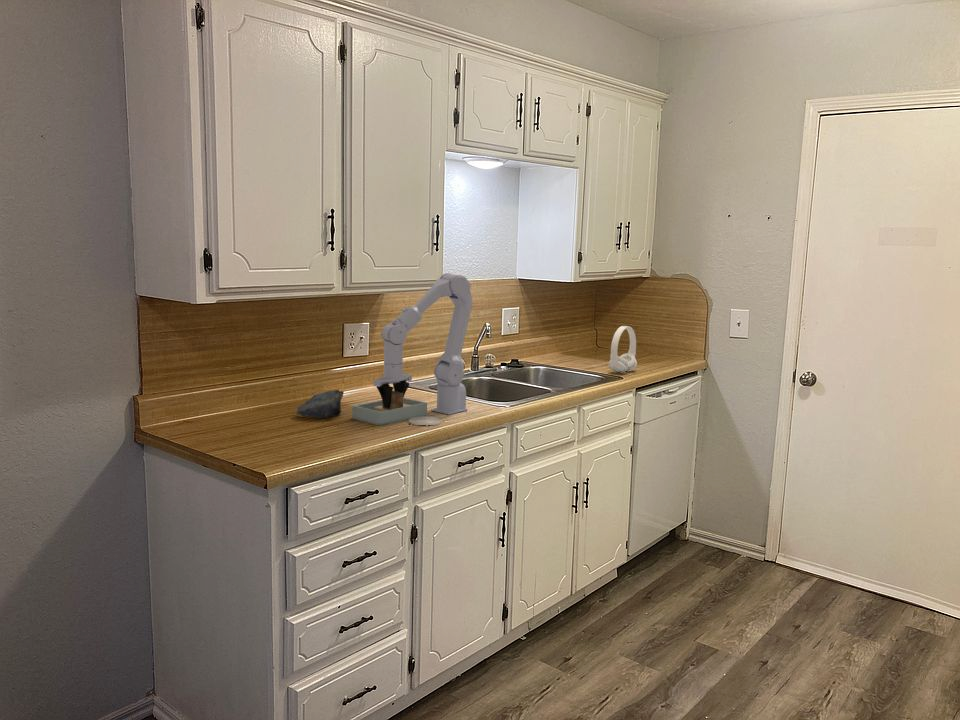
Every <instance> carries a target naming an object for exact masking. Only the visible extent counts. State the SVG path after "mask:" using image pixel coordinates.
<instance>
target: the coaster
mask: <svg viewBox="0 0 960 720" xmlns="http://www.w3.org/2000/svg"><path fill="white" fill-rule="evenodd" d="M441 422H443V421H442V419H441V418H439V417H436V416H428V415H425V416H418V417H412V418H410V419H408V423H409V424H410V423H411V424H410V425H413V424H414V425H413V426H417V425H426V426H425V427H429V426H428V425H435V426H437V425H436V424H439V425H441V424H442V423H441ZM440 423H441V424H440Z"/></svg>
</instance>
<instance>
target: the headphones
mask: <svg viewBox="0 0 960 720" xmlns="http://www.w3.org/2000/svg"><path fill="white" fill-rule="evenodd" d="M625 330H626V331H627V333H628V337H629V349H628V352H626V353H623V354H621V355H620V356H619V355H618V349H619V348H618V347H619V343H620V339H621V336H622V334H623V332H624V331H625ZM634 330H635V329H633V327H631V326H628V325H621V326H619V327H618V328H617V329H616V330H615V332H614V334H613V336H612V340H611V345H610V359H609V361H608V364H607V366H608V368H609V369H610V370H612V371H613V372H615V373H617V372H620V373H619V374H624V373H626V372H625V371H628V372H631V371H633V370H635V369H636V367H637V365H638V362H637V359H636V354H637V351H636V350H637V337H636V332H635V331H634Z"/></svg>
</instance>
